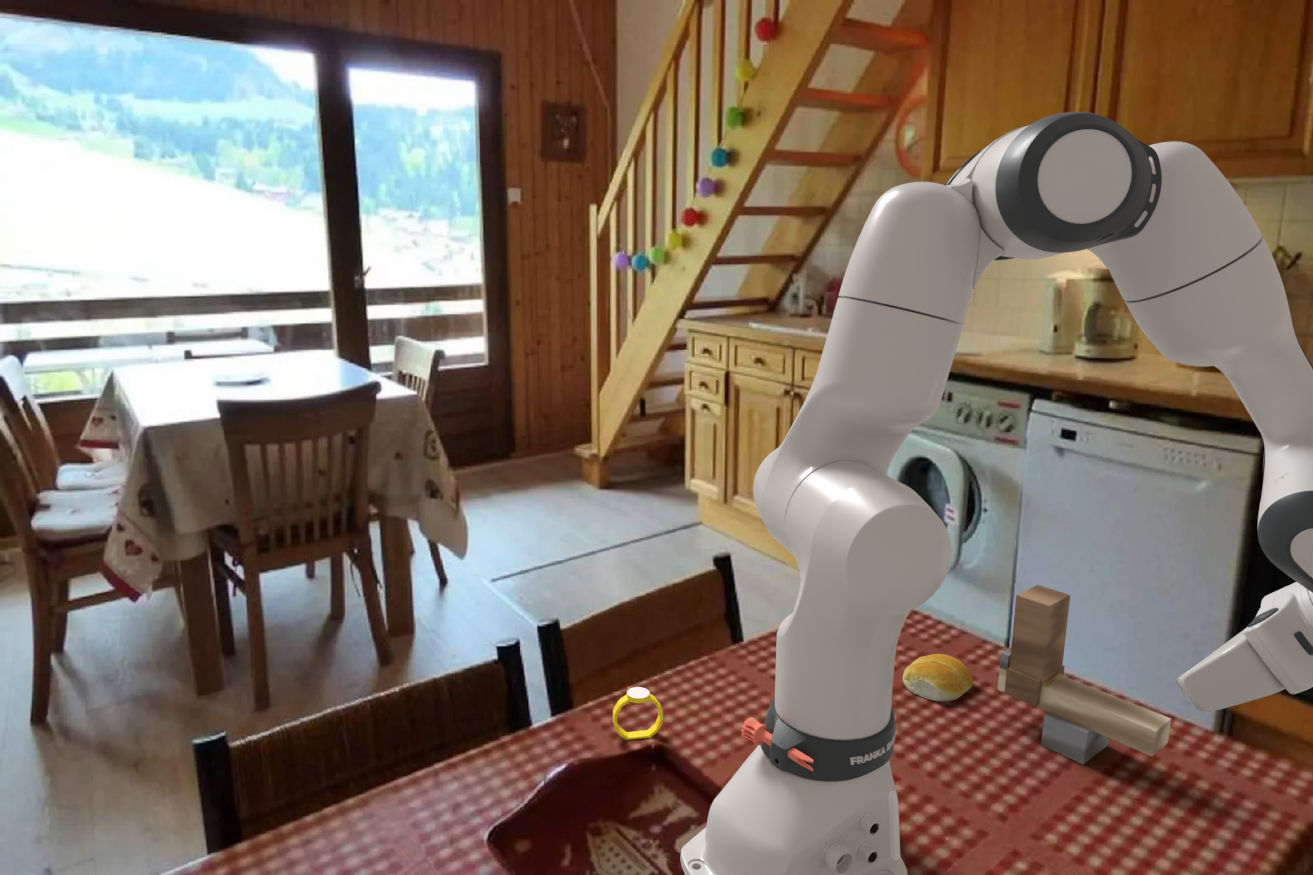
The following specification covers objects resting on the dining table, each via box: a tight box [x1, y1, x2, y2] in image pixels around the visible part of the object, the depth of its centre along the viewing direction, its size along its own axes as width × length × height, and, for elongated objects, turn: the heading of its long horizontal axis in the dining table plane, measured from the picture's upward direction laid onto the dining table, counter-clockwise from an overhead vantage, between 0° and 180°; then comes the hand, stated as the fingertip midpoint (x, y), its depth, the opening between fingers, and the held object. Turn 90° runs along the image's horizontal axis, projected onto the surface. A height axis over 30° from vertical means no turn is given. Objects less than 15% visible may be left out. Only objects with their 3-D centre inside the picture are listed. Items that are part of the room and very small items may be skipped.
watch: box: [612, 686, 664, 741], centre depth 103 cm, size 6×3×6 cm, turn 100°
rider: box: [1003, 584, 1071, 707], centre depth 103 cm, size 6×4×13 cm, turn 128°
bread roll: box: [902, 653, 974, 702], centre depth 115 cm, size 8×9×4 cm
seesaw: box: [997, 647, 1172, 765], centre depth 100 cm, size 6×18×9 cm, turn 38°
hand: (1184, 683), depth 90 cm, fingers closed
